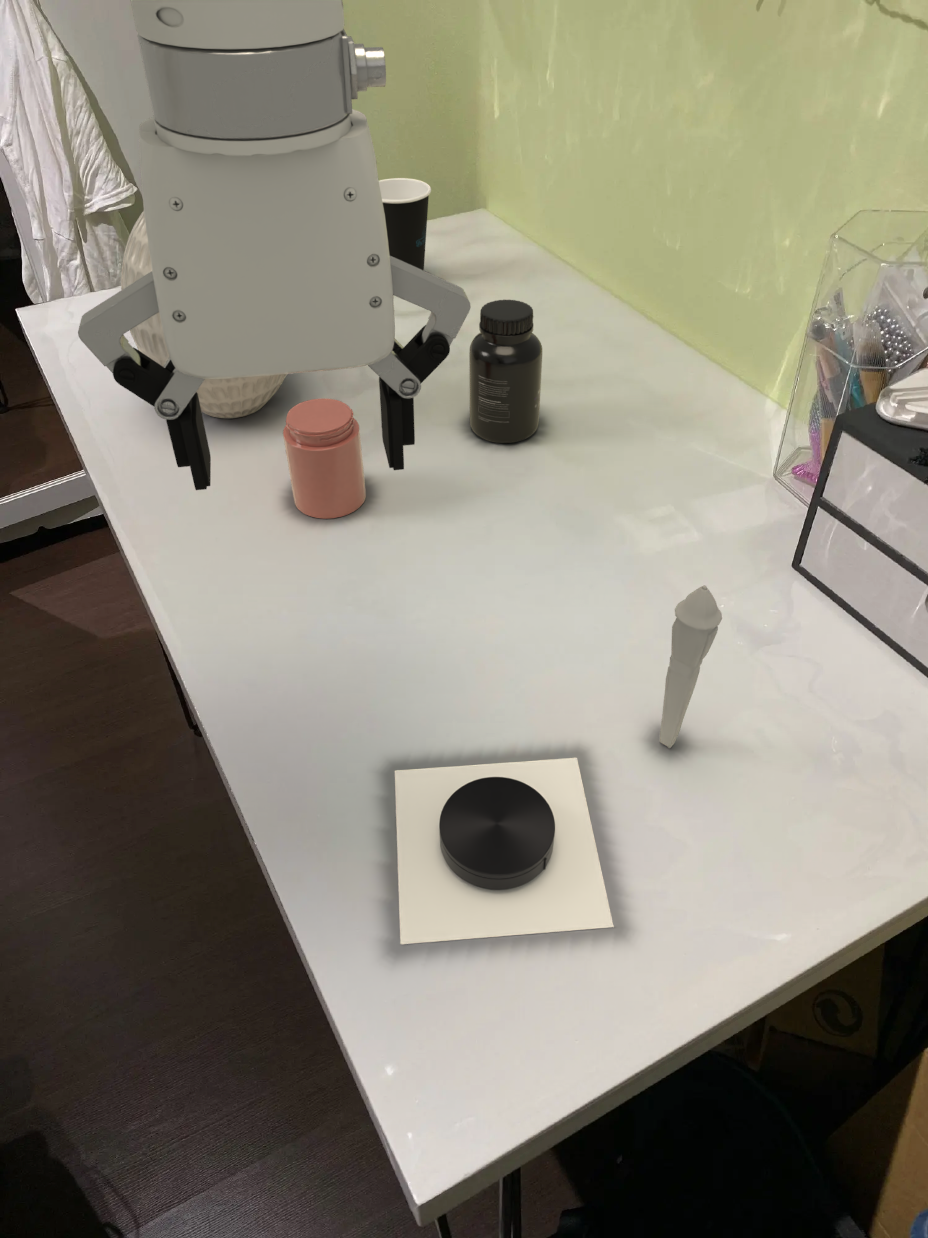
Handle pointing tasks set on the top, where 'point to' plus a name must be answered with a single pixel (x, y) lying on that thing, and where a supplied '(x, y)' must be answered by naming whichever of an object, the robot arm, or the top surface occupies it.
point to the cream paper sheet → (465, 911)
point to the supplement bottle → (505, 373)
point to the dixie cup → (406, 218)
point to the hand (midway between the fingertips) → (299, 464)
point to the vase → (149, 338)
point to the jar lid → (497, 833)
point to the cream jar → (324, 458)
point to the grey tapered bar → (687, 657)
